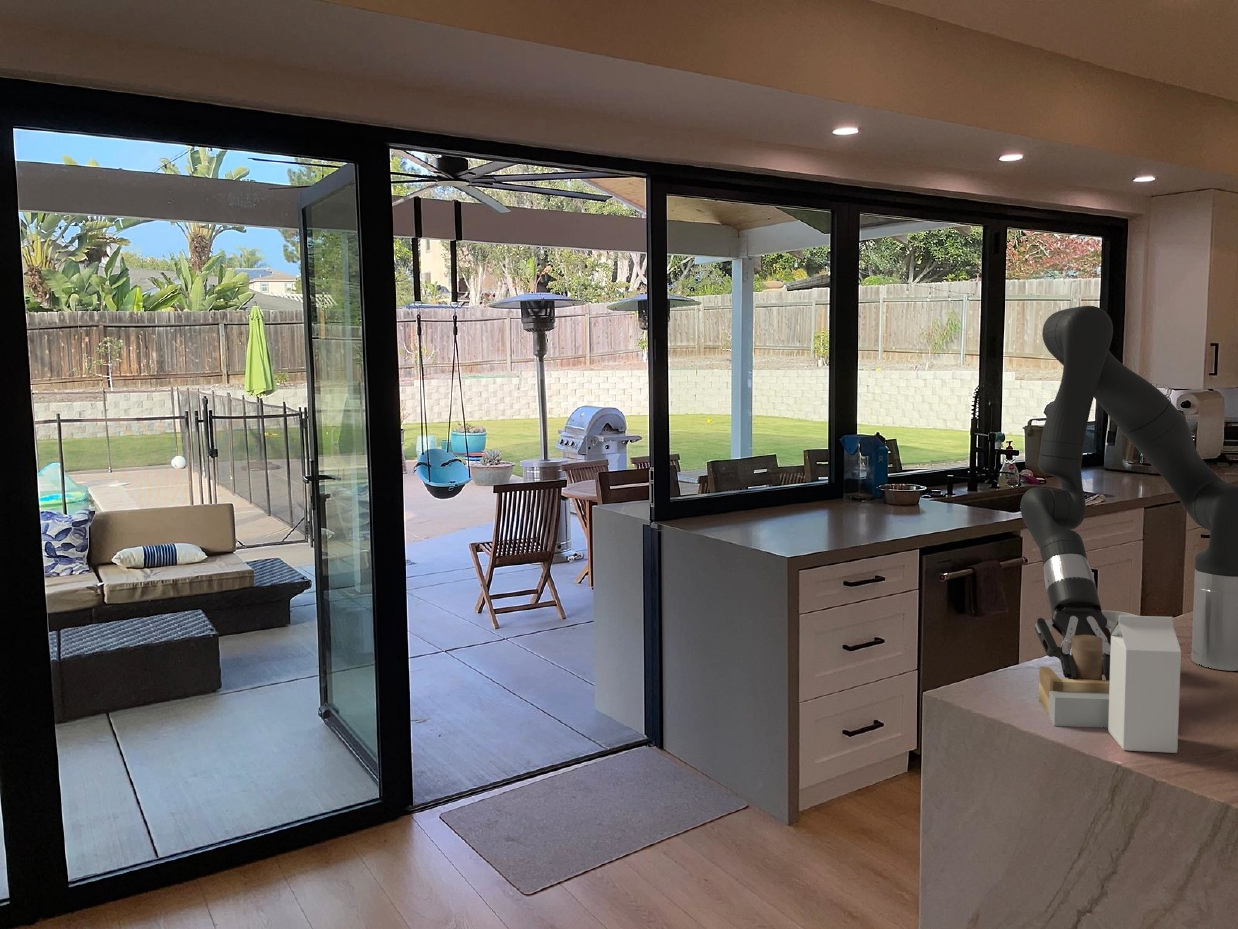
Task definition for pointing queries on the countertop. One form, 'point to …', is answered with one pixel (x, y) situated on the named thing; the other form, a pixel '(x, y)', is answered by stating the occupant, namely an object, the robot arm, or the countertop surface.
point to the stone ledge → (1079, 709)
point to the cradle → (1066, 685)
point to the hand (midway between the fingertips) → (1091, 679)
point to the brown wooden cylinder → (1087, 656)
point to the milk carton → (1144, 684)
